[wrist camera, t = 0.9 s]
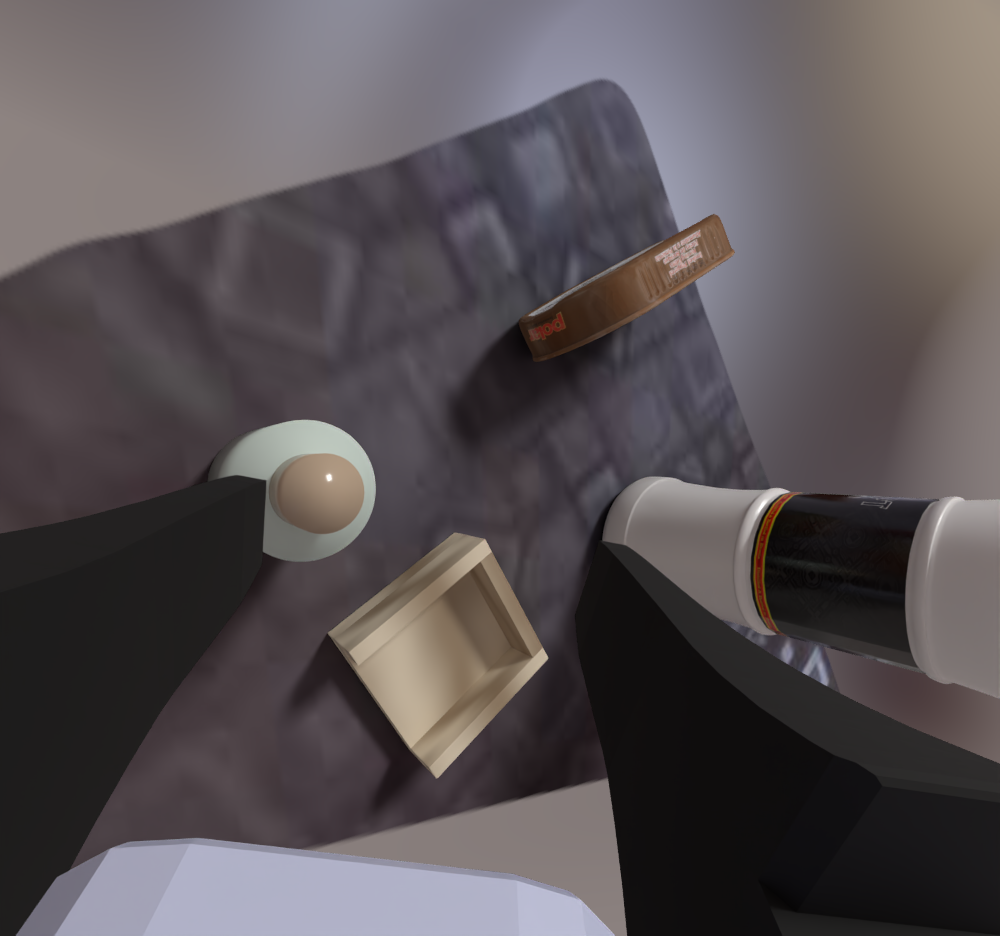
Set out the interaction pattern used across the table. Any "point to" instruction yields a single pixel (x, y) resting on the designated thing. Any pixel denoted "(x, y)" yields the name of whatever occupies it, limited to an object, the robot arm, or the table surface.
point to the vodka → (832, 569)
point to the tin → (625, 290)
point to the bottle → (304, 486)
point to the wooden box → (442, 648)
